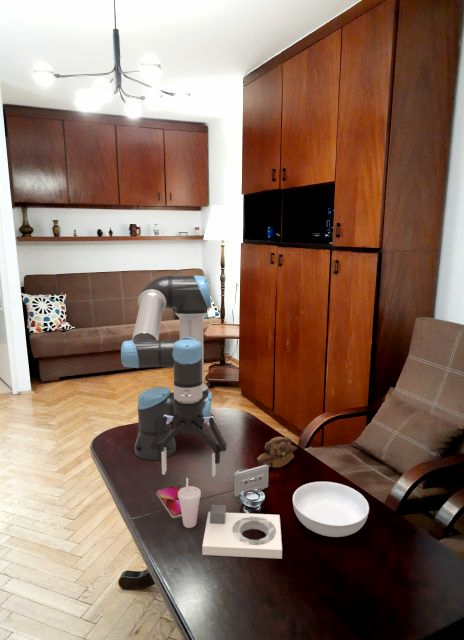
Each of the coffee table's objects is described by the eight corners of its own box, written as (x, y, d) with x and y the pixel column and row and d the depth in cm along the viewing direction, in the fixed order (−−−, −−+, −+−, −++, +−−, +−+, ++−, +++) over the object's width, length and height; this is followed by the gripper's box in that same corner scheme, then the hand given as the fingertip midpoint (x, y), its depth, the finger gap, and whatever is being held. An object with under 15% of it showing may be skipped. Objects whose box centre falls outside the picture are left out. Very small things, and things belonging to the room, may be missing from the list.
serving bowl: (369, 509, 132) (370, 488, 131) (365, 557, 113) (367, 533, 112) (299, 495, 139) (300, 475, 138) (284, 538, 120) (285, 515, 118)
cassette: (236, 498, 137) (236, 475, 136) (233, 495, 139) (233, 472, 137) (269, 488, 143) (269, 466, 141) (266, 485, 144) (266, 463, 143)
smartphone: (177, 484, 143) (196, 509, 130) (177, 487, 143) (196, 512, 131) (155, 490, 140) (172, 516, 127) (155, 493, 140) (172, 520, 127)
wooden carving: (264, 476, 149) (265, 449, 147) (255, 470, 153) (256, 443, 151) (299, 461, 159) (300, 435, 157) (289, 456, 163) (290, 430, 161)
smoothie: (178, 516, 128) (177, 472, 125) (201, 515, 128) (200, 471, 126) (177, 531, 122) (177, 485, 119) (201, 530, 122) (201, 484, 119)
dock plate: (208, 519, 127) (208, 502, 126) (279, 522, 126) (279, 505, 125) (202, 554, 113) (202, 535, 112) (281, 558, 112) (282, 539, 111)
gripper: (137, 402, 115) (140, 478, 119) (234, 405, 113) (234, 482, 117) (144, 392, 122) (147, 464, 126) (236, 395, 121) (235, 467, 125)
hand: (189, 473), depth 122 cm, fingers open, 13 cm apart
